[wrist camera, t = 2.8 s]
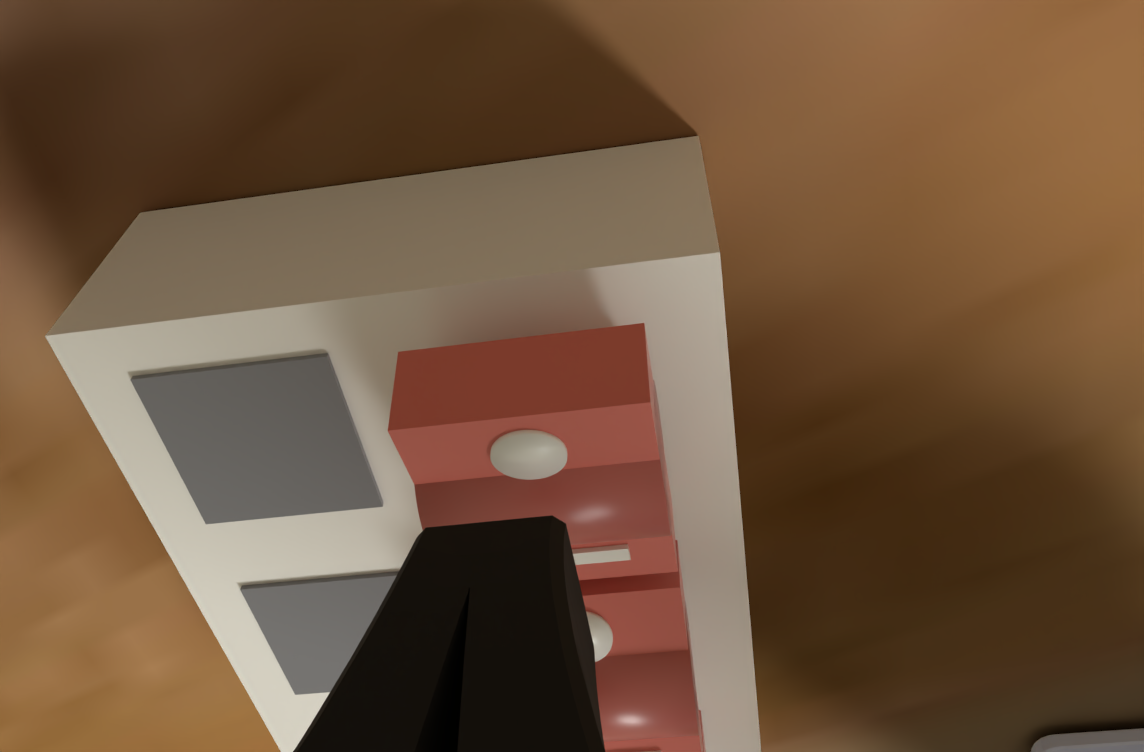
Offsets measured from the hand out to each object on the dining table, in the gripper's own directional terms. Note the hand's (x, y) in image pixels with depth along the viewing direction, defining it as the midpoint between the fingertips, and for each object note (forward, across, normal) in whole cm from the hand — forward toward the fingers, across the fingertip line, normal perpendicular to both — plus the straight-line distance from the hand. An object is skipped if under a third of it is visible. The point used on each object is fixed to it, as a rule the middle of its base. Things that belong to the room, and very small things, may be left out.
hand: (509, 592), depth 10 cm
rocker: (+3, 0, +1) cm, 3 cm away
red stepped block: (+3, 0, +6) cm, 6 cm away
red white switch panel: (+8, +2, +6) cm, 10 cm away
